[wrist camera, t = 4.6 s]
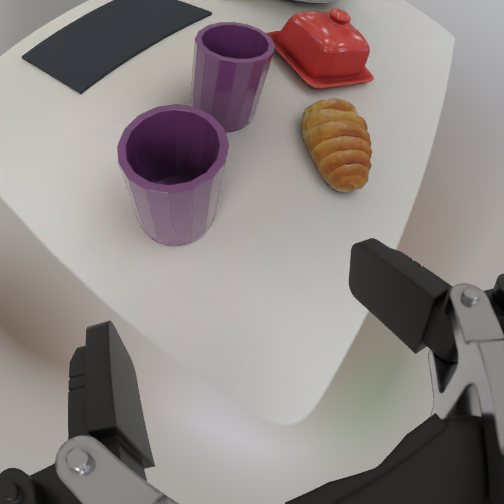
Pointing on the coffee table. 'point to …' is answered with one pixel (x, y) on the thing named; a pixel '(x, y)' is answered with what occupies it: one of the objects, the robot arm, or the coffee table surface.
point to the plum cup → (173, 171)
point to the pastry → (338, 143)
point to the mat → (109, 38)
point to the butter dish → (324, 48)
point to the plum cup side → (230, 72)
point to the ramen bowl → (316, 1)
